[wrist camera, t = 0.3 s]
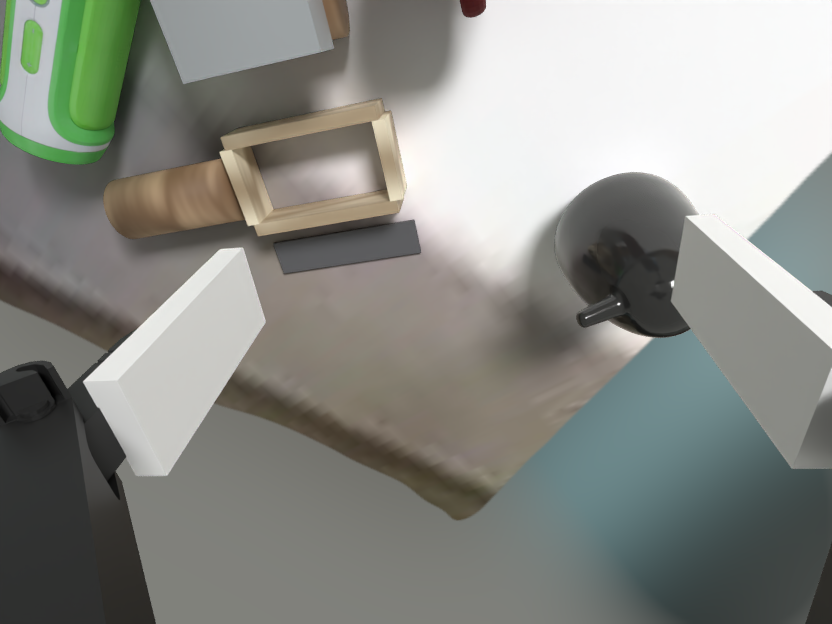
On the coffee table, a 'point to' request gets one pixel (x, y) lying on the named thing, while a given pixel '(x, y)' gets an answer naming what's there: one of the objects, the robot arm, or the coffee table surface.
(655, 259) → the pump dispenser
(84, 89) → the speaker
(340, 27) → the roller bed
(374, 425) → the coffee table surface
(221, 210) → the roller
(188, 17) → the slab
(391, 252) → the stop strip
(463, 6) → the mug
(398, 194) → the open rectangular frame
